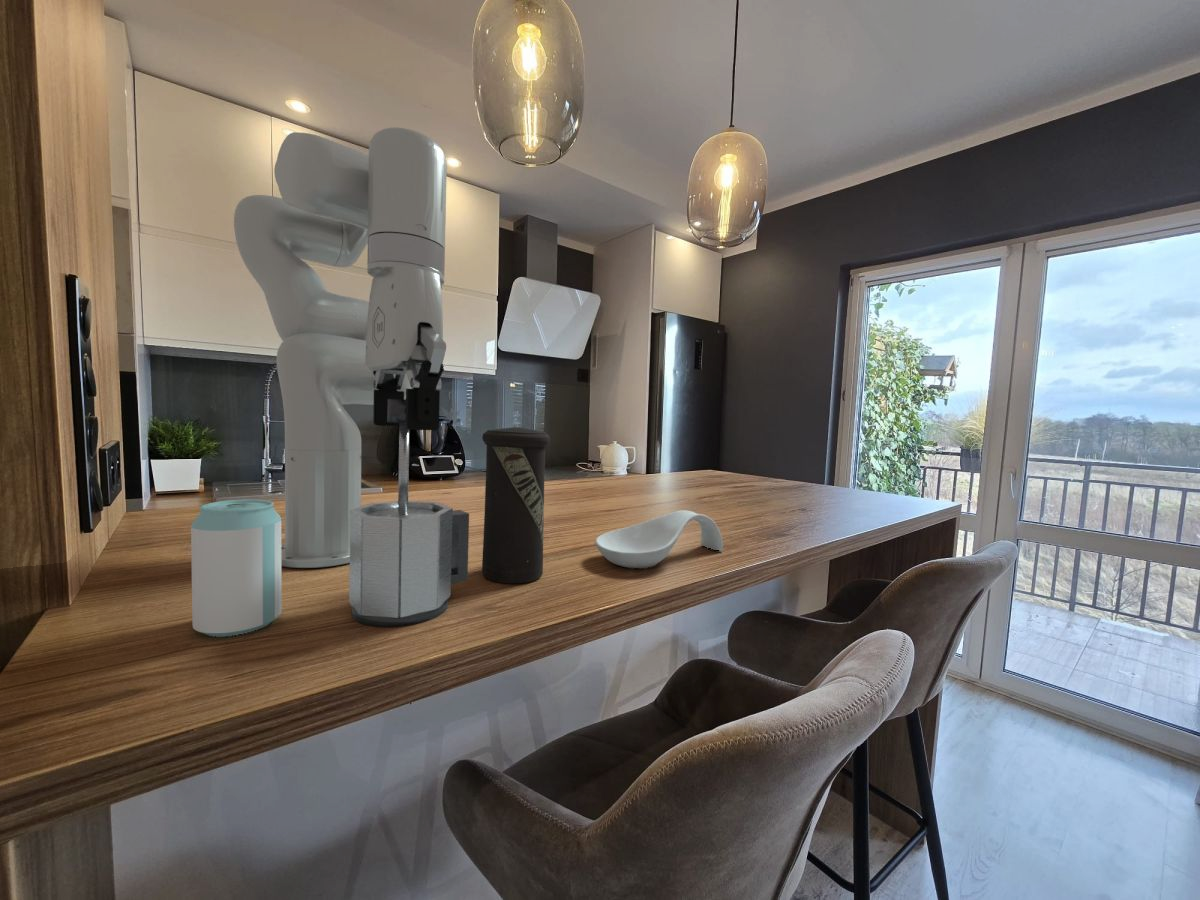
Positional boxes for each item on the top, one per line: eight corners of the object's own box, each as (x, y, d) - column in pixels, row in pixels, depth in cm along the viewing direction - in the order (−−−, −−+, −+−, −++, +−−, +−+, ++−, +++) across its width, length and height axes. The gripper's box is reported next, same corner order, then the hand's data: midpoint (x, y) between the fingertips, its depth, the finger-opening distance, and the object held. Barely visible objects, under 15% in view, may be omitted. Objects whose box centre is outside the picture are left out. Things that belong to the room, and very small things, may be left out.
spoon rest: (627, 582, 67) (630, 530, 66) (579, 559, 76) (581, 513, 76) (739, 558, 81) (742, 515, 80) (687, 541, 90) (689, 502, 90)
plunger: (359, 519, 54) (361, 398, 53) (421, 513, 58) (423, 401, 57) (380, 532, 49) (382, 398, 48) (446, 524, 53) (449, 401, 52)
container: (511, 590, 61) (516, 429, 60) (465, 573, 66) (469, 425, 65) (558, 574, 68) (563, 429, 66) (513, 560, 73) (517, 426, 72)
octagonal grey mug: (340, 603, 55) (341, 505, 54) (444, 582, 63) (446, 497, 62) (368, 635, 47) (369, 522, 47) (482, 607, 55) (485, 510, 55)
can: (172, 634, 46) (170, 507, 45) (243, 606, 53) (242, 495, 52) (233, 645, 44) (232, 513, 44) (298, 615, 51) (298, 501, 50)
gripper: (344, 271, 56) (343, 423, 57) (401, 233, 43) (398, 431, 44) (411, 285, 61) (408, 424, 62) (479, 255, 48) (475, 432, 49)
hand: (404, 427), depth 53 cm, fingers open, 9 cm apart
